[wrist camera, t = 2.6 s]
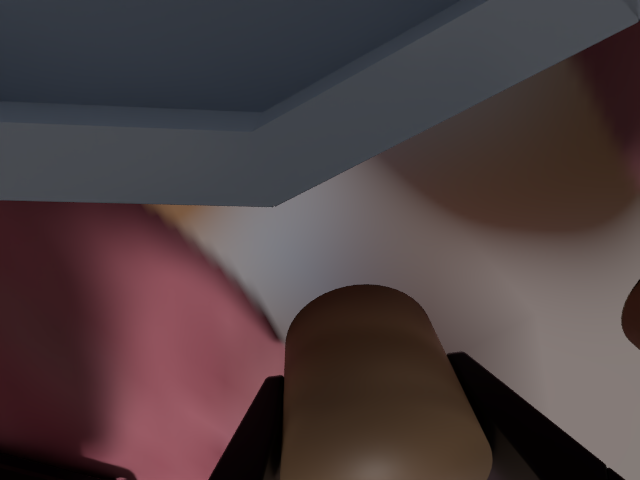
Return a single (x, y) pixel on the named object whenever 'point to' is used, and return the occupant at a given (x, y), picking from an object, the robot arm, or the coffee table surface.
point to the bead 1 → (374, 394)
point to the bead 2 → (632, 316)
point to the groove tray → (253, 88)
